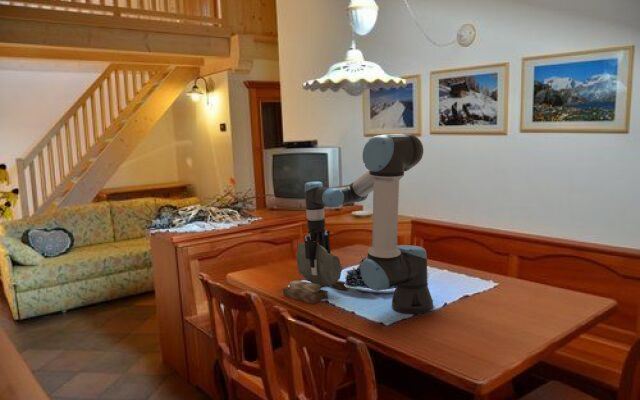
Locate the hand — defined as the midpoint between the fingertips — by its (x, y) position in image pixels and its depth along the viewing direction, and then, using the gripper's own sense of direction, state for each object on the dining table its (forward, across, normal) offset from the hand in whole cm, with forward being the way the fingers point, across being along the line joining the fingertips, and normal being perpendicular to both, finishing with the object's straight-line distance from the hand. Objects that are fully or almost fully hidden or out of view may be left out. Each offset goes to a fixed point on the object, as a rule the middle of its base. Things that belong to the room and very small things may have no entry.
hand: (319, 272), depth 205 cm
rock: (+7, 0, 0) cm, 7 cm away
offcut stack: (+8, +9, 0) cm, 12 cm away
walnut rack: (+8, +2, 0) cm, 8 cm away
